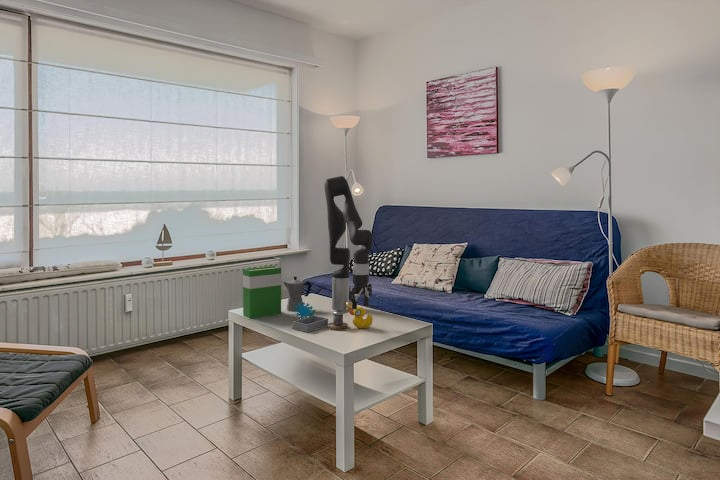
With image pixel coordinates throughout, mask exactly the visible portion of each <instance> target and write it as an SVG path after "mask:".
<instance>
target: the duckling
mask: <svg viewBox="0 0 720 480" xmlns="http://www.w3.org/2000/svg"><path fill="white" fill-rule="evenodd" d="M348 313H349V314H350V315H351V316H354V317H353V319H352V324H353V326H354V327H356V328H357V329H367V328H370V327H371V326H372V325H373V320H374V319H373V318H374V317H373V315H372V314H368V315H367V316H366V318H364V316H365V314H367V310H366V309H365V308H363V307H362V306H357V309H351V310H350V309H349V312H348Z"/></svg>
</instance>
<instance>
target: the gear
mask: <svg viewBox="0 0 720 480" xmlns="http://www.w3.org/2000/svg"><path fill="white" fill-rule="evenodd" d="M305 304H306V305H305ZM300 305H301V303H298V306H299V307H300V308H298V306H296V307H295V308H297V309H298V310H299V311H298V310H297V309H295V312H294V313H296V317H299V319H303V318H307V317H310V316H315V314H314V313H316V312H317V309H314V308H313V306H312V305H310V304H309V303H308V302H307V303H306V302H304V301H303V303H302V306H300Z"/></svg>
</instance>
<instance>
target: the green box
mask: <svg viewBox="0 0 720 480" xmlns="http://www.w3.org/2000/svg"><path fill="white" fill-rule="evenodd" d="M242 309H243V312H242V314H243V317H245V318H248V319H250V320H251V319H257V318H263V317H269V316H274V315H280V314H282V267H275V265H271V266H261V267H252V268H251V267H250V268H243V269H242Z"/></svg>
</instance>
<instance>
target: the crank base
mask: <svg viewBox="0 0 720 480" xmlns="http://www.w3.org/2000/svg"><path fill="white" fill-rule="evenodd" d="M348 325H349V324H348V323H347V322H344V314H343V315H341V316H335V315H333V320H332V321H331V322H330V323H329V322H328V326H327V327H328V329H329V330H332V331H344V330H348Z"/></svg>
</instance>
